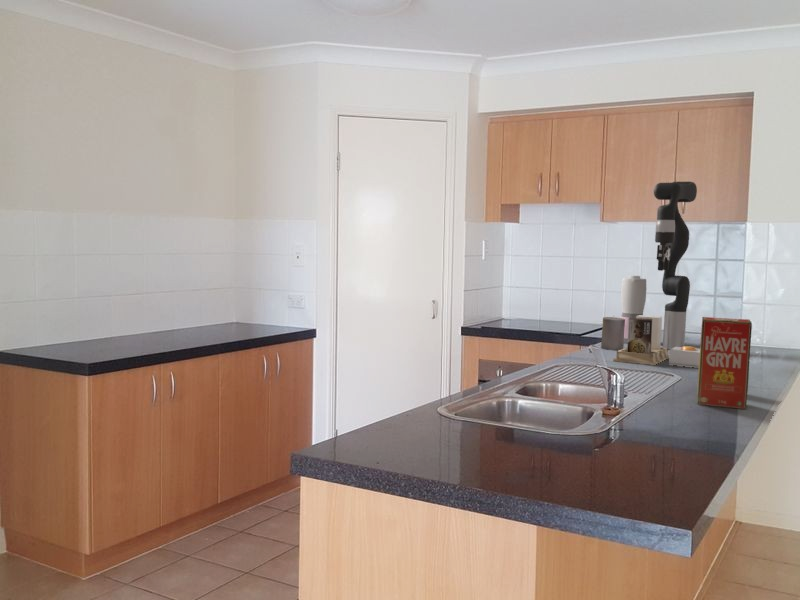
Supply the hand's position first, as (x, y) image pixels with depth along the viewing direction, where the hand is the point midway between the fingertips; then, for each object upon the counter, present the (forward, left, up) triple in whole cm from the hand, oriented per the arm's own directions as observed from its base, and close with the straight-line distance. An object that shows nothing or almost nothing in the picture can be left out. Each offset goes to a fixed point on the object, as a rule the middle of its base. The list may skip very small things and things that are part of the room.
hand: (663, 270), depth 313 cm
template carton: (+7, -3, -36) cm, 37 cm away
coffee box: (+21, -3, -35) cm, 41 cm away
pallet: (+14, -3, -36) cm, 39 cm away
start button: (+16, +15, -34) cm, 40 cm away
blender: (-41, -22, -36) cm, 59 cm away
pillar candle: (-10, -22, -36) cm, 44 cm away
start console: (+16, +15, -36) cm, 42 cm away
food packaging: (+90, +38, -36) cm, 104 cm away
